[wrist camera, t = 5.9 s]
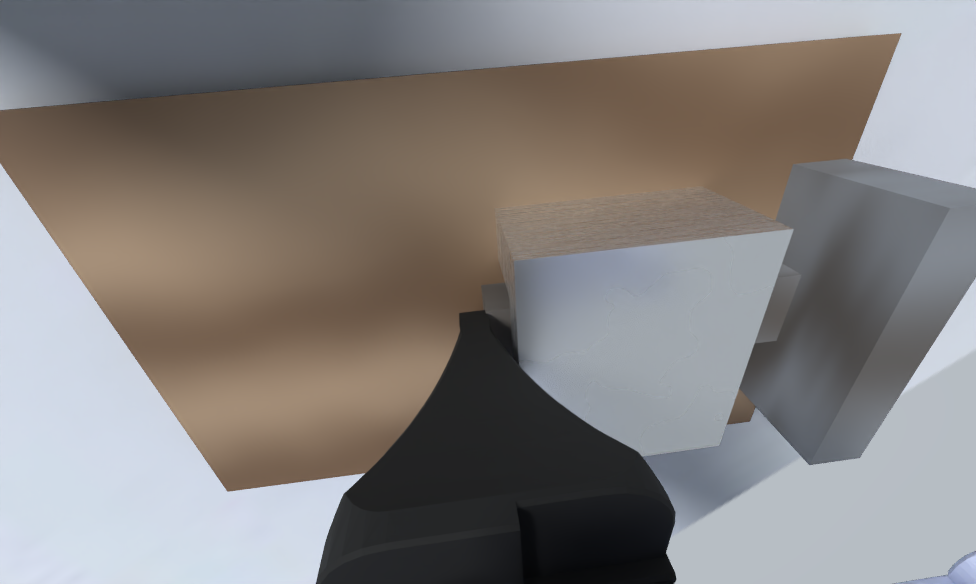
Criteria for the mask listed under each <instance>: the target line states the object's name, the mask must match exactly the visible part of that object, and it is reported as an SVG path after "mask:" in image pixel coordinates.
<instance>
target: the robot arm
mask: <svg viewBox="0 0 976 584" xmlns="http://www.w3.org/2000/svg"><path fill="white" fill-rule="evenodd" d="M459 326H460V333H459V336H458V339H457V342H456V344H455V347H454V349H453V352H452V354H451V357H450V359H449V361H448V363H447V365H446V367H445V369H444V371H443V373H442V375H441V377H440V379H439V381H438V383H437V384H436V386H435V388H434V389H433V391H432V393H431V394H430V396H429V398H428V399H427V401H426V402H425V404H424V405H423V407H422V408H421V409H420V411H419V412H418V414H417V415H416V416H415V418H414V419H413V421H412V422H411V423H410V425H409V426H408V427H407V428H406V430H405V431H404V432H403V433H402V434H401V436H400V437H399V438H398V439H397V440H396V441H395V443H394V444H393V445H392V446H391V447H390V448H389V449H388V451H387V452H386V453H385V454H384V455H383V456H382V457H381V458H380V459H379V461H378V462H377V463H376V464H375V465H374V466H373V467H372V468H371V469H370V470H369V471H367V472H366V473H365V474H364V475H363V476H362V477H361V478H360V479H359V480H358V481H357V482H356V483H355V484H354V485H353V486H352V487H351V488H350V489H349V490H348V491H347V492H345V493H344V495H343V497H342V499H341V501H340V504H339V506H338V509H337V511H336V514H335V516H334V519H333V522H332V525H331V527H330V530H329V533H328V536H327V539H326V542H325V546H324V551H323V555H322V559H321V564H320V568H319V573H318V577H317V581H316V584H674V582H675V581H676V575H675V572H674V569H673V567H672V565H671V563H670V561H669V559H668V557H667V554H666V550H667V547H668V544H669V540H670V537H671V534H672V530H673V527H674V524H675V510H674V508H673V506H672V504H671V502H670V499H669V497H668V495H667V493H666V492H665V490H664V488H663V486H662V485H661V483H660V482H659V480H658V479H657V477H656V476H655V474H654V473H653V471H652V470H651V468H650V467H649V466H648V464H647V463H646V461H645V460H644V459H643V457H642V456H641V455H640V453H639V452H638V451H636V450H634V449H632V448H630V447H629V446H627V445H625V444H623V443H621V442H619V441H617V440H616V439H614V438H612V437H610V436H608V435H606V434H604V433H603V432H601V431H599V430H598V429H596V428H594V427H593V426H591V425H590V424H588V423H587V422H585V421H583V420H582V419H581V418H579V417H578V416H577V415H575V414H574V413H572V412H571V411H570V410H568V409H567V408H566V407H564V406H563V405H562V404H560V403H559V402H558V401H556V400H555V399H554V398H553V397H552V396H550V395H549V394H548V393H547V392H546V391H544V390H543V389H542V388H541V387H540V386H539V385H538V384H537V383H536V382H535V381H534V380H533V379H532V378H531V377H530V376H529V375H528V374H527V373H526V372H525V371H524V370H523V369H522V368H521V367H520V366H519V365H518V364H517V363H516V361H515V360H514V359H513V358H512V357H511V356H510V354H509V353H508V352H507V350H506V349H505V348H504V347H503V345H502V344H501V343H500V341H499V340H498V338H497V337H496V336H495V334H494V332H493V331H492V329H491V328H490V321H489V317H488V314H486V312H485V310H480V311H471V312H463V313H459ZM894 584H976V551H974V552H972V553H970V554H967V555H965V556H964V557H962V558H961V559H959V560H958V561H957V562H956V563H955V564H954V565H953V566H952V567H951V568H950V570H949V572H948V575H943V576H937V577H931V578H925V579H919V580H912V581H906V582H900V583H894Z"/></svg>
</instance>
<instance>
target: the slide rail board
mask: <svg viewBox="0 0 976 584" xmlns="http://www.w3.org/2000/svg"><path fill="white" fill-rule="evenodd" d="M900 36H901V33H900V34H886V35H872V36H860V37H848V38H837V39H825V40H813V41H802V42H790V43H778V44H767V45H755V46H743V47H732V48H720V49H708V50H697V51H685V52H673V53H662V54H650V55H639V56H627V57H615V58H604V59H592V60H580V61H569V62H557V63H545V64H534V65H522V66H510V67H499V68H487V69H475V70H464V71H452V72H440V73H429V74H417V75H406V76H394V77H382V78H371V79H359V80H347V81H336V82H324V83H312V84H301V85H289V86H277V87H266V88H254V89H242V90H231V91H219V92H207V93H196V94H184V95H172V96H161V97H149V98H138V99H126V100H114V101H103V102H91V103H79V104H68V105H56V106H44V107H33V108H21V109H9V110H0V163H1V165H2V166H3V168H4V169H5V171H6V172H7V174H8V175H9V176H10V178H11V179H12V181H13V182H14V184H15V185H16V187H17V188H18V189H19V191H20V192H21V194H22V195H23V197H24V198H25V200H26V201H27V202H28V204H29V205H30V207H31V208H32V210H33V211H34V213H35V214H36V215H37V217H38V218H39V220H40V221H41V223H42V224H43V226H44V227H45V228H46V230H47V231H48V233H49V234H50V236H51V237H52V239H53V240H54V241H55V243H56V244H57V246H58V247H59V249H60V250H61V252H62V253H63V254H64V256H65V257H66V259H67V260H68V262H69V263H70V265H71V266H72V267H73V269H74V270H75V272H76V273H77V275H78V276H79V278H80V279H81V280H82V282H83V283H84V285H85V286H86V288H87V289H88V291H89V292H90V293H91V295H92V296H93V298H94V299H95V301H96V302H97V304H98V305H99V306H100V308H101V309H102V311H103V312H104V314H105V315H106V317H107V318H108V319H109V321H110V322H111V324H112V325H113V327H114V328H115V330H116V331H117V332H118V334H119V335H120V337H121V338H122V340H123V341H124V343H125V344H126V346H127V347H128V348H129V350H130V351H131V353H132V354H133V356H134V357H135V359H136V360H137V361H138V363H139V364H140V366H141V367H142V369H143V370H144V372H145V373H146V374H147V376H148V377H149V379H150V380H151V382H152V383H153V385H154V386H155V387H156V389H157V390H158V392H159V393H160V395H161V396H162V398H163V399H164V400H165V402H166V403H167V405H168V406H169V408H170V409H171V411H172V412H173V413H174V415H175V416H176V418H177V419H178V421H179V422H180V424H181V425H182V426H183V428H184V429H185V431H186V432H187V434H188V435H189V437H190V438H191V439H192V441H193V442H194V444H195V445H196V447H197V448H198V450H199V451H200V452H201V454H202V455H203V457H204V458H205V460H206V461H207V463H208V464H209V465H210V467H211V468H212V470H213V471H214V473H215V474H216V476H217V477H218V478H219V480H220V481H221V483H222V484H223V486H224V487H225V489H226V490H227V491H236V490H243V489H251V488H258V487H266V486H273V485H280V484H288V483H295V482H303V481H310V480H318V479H325V478H333V477H340V476H347V475H355V474H362V473H366V472H367V471H369V470H370V469H371V468H372V467H373V466H374V465H375V464H376V463H377V462H378V461H379V459H380V458H381V457H382V456H383V455H384V454H385V453H386V452H387V451H388V449H389V448H390V447H391V446H392V445H393V444H394V443H395V441H396V440H397V439H398V438H399V437H400V436H401V434H402V433H403V432H404V431H405V430H406V428H407V427H408V426H409V425H410V423H411V422H412V421H413V419H414V418H415V416H416V415H417V414H418V412H419V411H420V409H421V408H422V407H423V405H424V404H425V402H426V401H427V399H428V398H429V396H430V394H431V393H432V391H433V389H434V388H435V386H436V384H437V383H438V381H439V379H440V377H441V375H442V373H443V371H444V369H445V367H446V365H447V363H448V361H449V359H450V357H451V354H452V352H453V349H454V347H455V344H456V342H457V339H458V336H459V333H460V326H459V313H463V312H471V311H480V310H485V312H486V314H488V317H489V321H490V328H491V329H492V331H493V332H494V334H495V336H496V337H497V338H498V340H499V341H500V343H501V344H502V345H503V347H504V348H505V349H506V350H507V352H508V353H509V354H510V356H511V357H512V358H513V354H512V337H511V319H510V302H509V295H508V291H507V288H506V284H505V281H504V277H503V274H502V270H501V267H500V263H499V259H498V245H497V231H496V216H495V209H496V208H505V207H514V206H524V205H533V204H542V203H552V202H561V201H570V200H580V199H589V198H598V197H608V196H617V195H626V194H636V193H645V192H654V191H664V190H673V189H682V188H692V187H701V186H702V187H704V188H707V189H709V190H711V191H713V192H715V193H717V194H719V195H722V196H724V197H726V198H728V199H730V200H732V201H735V202H737V203H739V204H741V205H743V206H745V207H747V208H750V209H752V210H754V211H756V212H758V213H760V214H763V215H765V216H767V217H769V218H771V219H773V220H775V221H778V222H780V223H782V224H784V225H786V226H788V227H790V228H793V229H794V230H793V233H792V236H791V239H790V242H789V245H788V247H787V250H786V253H785V256H784V259H783V262H782V265H781V268H780V271H779V274H778V277H777V279H776V282H775V285H774V288H773V291H772V294H771V297H770V300H769V303H768V306H767V309H766V311H765V314H764V317H763V320H762V323H761V326H760V329H759V332H758V335H757V338H756V341H755V343H754V346H753V349H752V352H751V355H750V358H749V361H748V364H747V367H746V370H745V373H744V375H743V378H742V381H741V384H740V387H739V390H738V393H737V396H736V399H735V402H734V405H733V408H732V410H731V413H730V416H729V419H728V422H727V424H735V423H742V422H750V420H751V417H752V415H753V412H754V410H755V407H757V408H758V410H759V411H760V412H761V413H762V414H763V415H764V416H765V417H766V418H767V419H768V420H769V422H770V423H771V424H772V425H773V426H774V427H775V428H776V429H777V430H778V431H779V432H780V434H781V435H782V436H783V437H784V438H785V439H786V440H787V441H788V442H789V443H790V444H791V446H792V447H793V448H794V449H795V450H796V451H797V452H798V453H799V454H800V455H801V456H802V458H803V459H804V460H805V461H806V462H807V463H808V464H809V465H813V464H820V463H827V462H834V461H841V460H848V459H855V458H860V457H861V455H862V453H863V452H864V450H865V449H866V447H867V446H868V444H869V442H870V441H871V439H872V438H873V436H874V435H875V433H876V432H877V430H878V428H879V427H880V425H881V424H882V422H883V421H884V419H885V418H886V416H887V414H888V413H889V411H890V410H891V408H892V407H893V405H894V404H895V402H896V401H897V399H898V397H899V396H900V394H901V393H902V391H903V390H904V388H905V387H906V385H907V383H908V382H909V380H910V379H911V377H912V376H913V374H914V373H915V371H916V369H917V368H918V366H919V365H920V363H921V362H922V360H923V359H924V357H925V355H926V354H927V352H928V351H929V349H930V348H931V346H932V345H933V343H934V342H935V340H936V338H937V337H938V335H939V334H940V332H941V331H942V329H943V328H944V326H945V324H946V323H947V321H948V320H949V318H950V317H951V315H952V314H953V312H954V310H955V309H956V307H957V306H958V304H959V303H960V301H961V300H962V298H963V296H964V295H965V293H966V292H967V290H968V289H969V287H970V286H971V284H972V282H973V281H974V279H975V278H976V188H971V187H967V186H963V185H958V184H954V183H949V182H945V181H941V180H936V179H932V178H928V177H923V176H919V175H915V174H910V173H906V172H902V171H897V170H893V169H889V168H884V167H880V166H876V165H871V164H867V163H863V162H858V161H854V160H852V159H853V156H854V154H855V151H856V149H857V146H858V143H859V141H860V138H861V136H862V133H863V131H864V128H865V126H866V123H867V120H868V118H869V115H870V113H871V110H872V108H873V105H874V103H875V100H876V97H877V95H878V92H879V90H880V87H881V85H882V82H883V80H884V77H885V74H886V72H887V69H888V67H889V64H890V62H891V59H892V57H893V54H894V51H895V49H896V46H897V44H898V41H899V39H900Z"/></svg>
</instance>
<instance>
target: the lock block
mask: <svg viewBox="0 0 976 584" xmlns="http://www.w3.org/2000/svg"><path fill="white" fill-rule="evenodd" d="M495 216H496V231H497V245H498V259H499V263H500V267H501V270H502V274H503V277H504V281H505V284H506V288H507V291H508V295H509V302H510V319H511V337H512V354H513V359H514V360H515V361H516V363H517V364H518V365H519V366H520V367H521V368H522V369H523V370H524V371H525V372H526V373H527V374H528V375H529V376H530V377H531V378H532V379H533V380H534V381H535V382H536V383H537V384H538V385H539V386H540V387H541V388H542V389H543V390H544V391H546V392H547V393H548V394H549V395H550V396H552V397H553V398H554V399H555V400H556V401H558V402H559V403H560V404H562V405H563V406H564V407H566V408H567V409H568V410H570V411H571V412H572V413H574V414H575V415H577V416H578V417H579V418H581V419H582V420H583V421H585V422H587V423H588V424H590V425H591V426H593V427H594V428H596V429H598V430H599V431H601V432H603V433H604V434H606V435H608V436H610V437H612V438H614V439H616V440H617V441H619V442H621V443H623V444H625V445H627V446H629V447H630V448H632V449H634V450H636V451H638V452H639V453H640V455H641V456H642V457H643V456H651V455H658V454H665V453H672V452H679V451H686V450H693V449H701V448H708V447H715V446H719V445H720V442H721V440H722V437H723V434H724V431H725V428H726V425H727V422H728V419H729V416H730V413H731V410H732V408H733V405H734V402H735V399H736V396H737V393H738V390H739V387H740V384H741V381H742V378H743V375H744V373H745V370H746V367H747V364H748V361H749V358H750V355H751V352H752V349H753V346H754V343H755V341H756V338H757V335H758V332H759V329H760V326H761V323H762V320H763V317H764V314H765V311H766V309H767V306H768V303H769V300H770V297H771V294H772V291H773V288H774V285H775V282H776V279H777V277H778V274H779V271H780V268H781V265H782V262H783V259H784V256H785V253H786V250H787V247H788V245H789V242H790V239H791V236H792V233H793V230H794V229H793V228H790V227H788V226H786V225H784V224H782V223H780V222H778V221H775V220H773V219H771V218H769V217H767V216H765V215H763V214H760V213H758V212H756V211H754V210H752V209H750V208H747V207H745V206H743V205H741V204H739V203H737V202H735V201H732V200H730V199H728V198H726V197H724V196H722V195H719V194H717V193H715V192H713V191H711V190H709V189H707V188H704V187H702V186H701V187H692V188H682V189H673V190H664V191H654V192H645V193H636V194H626V195H617V196H608V197H598V198H589V199H580V200H570V201H561V202H552V203H542V204H533V205H524V206H514V207H505V208H496V209H495Z"/></svg>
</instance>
